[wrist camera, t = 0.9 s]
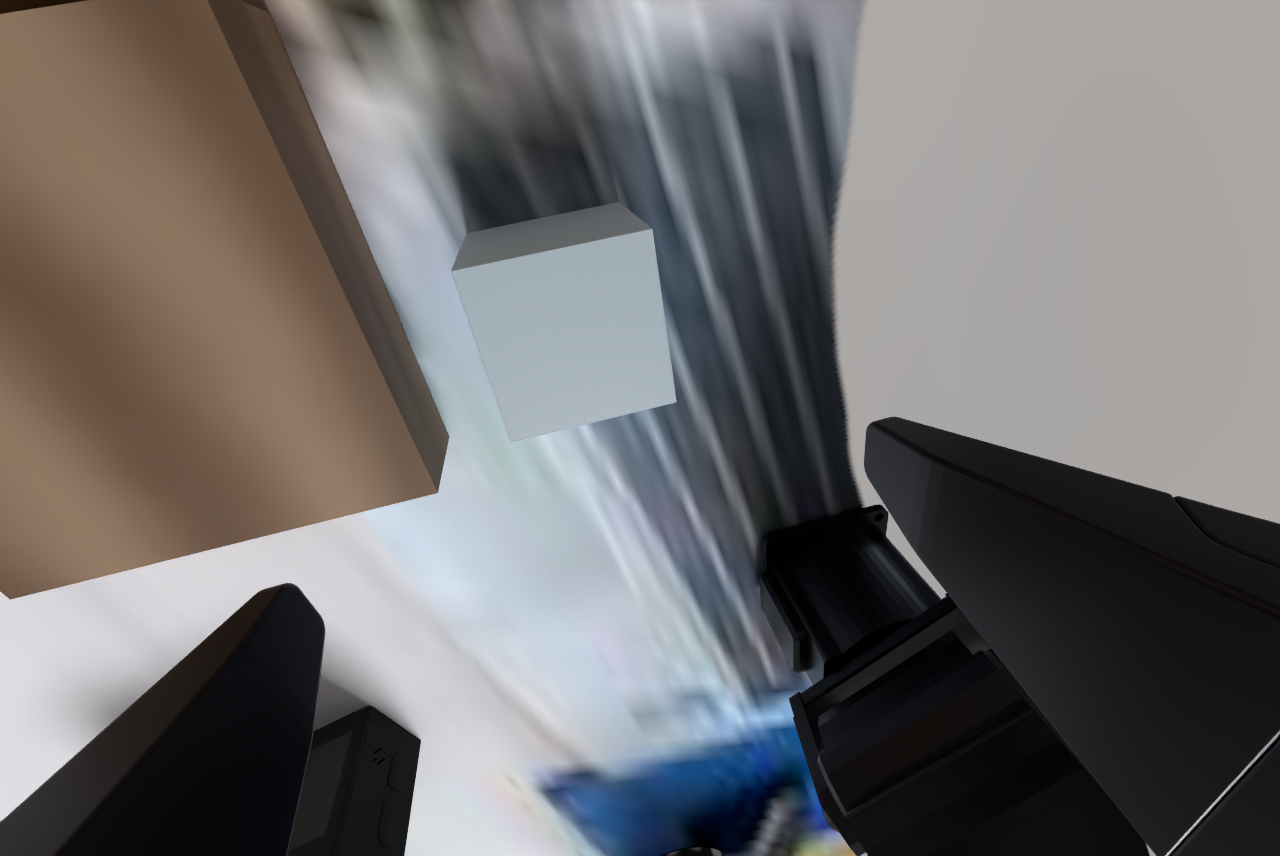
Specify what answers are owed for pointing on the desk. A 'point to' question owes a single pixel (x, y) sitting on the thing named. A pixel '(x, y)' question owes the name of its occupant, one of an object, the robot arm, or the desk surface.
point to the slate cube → (567, 318)
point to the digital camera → (356, 789)
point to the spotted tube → (696, 852)
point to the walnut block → (183, 299)
